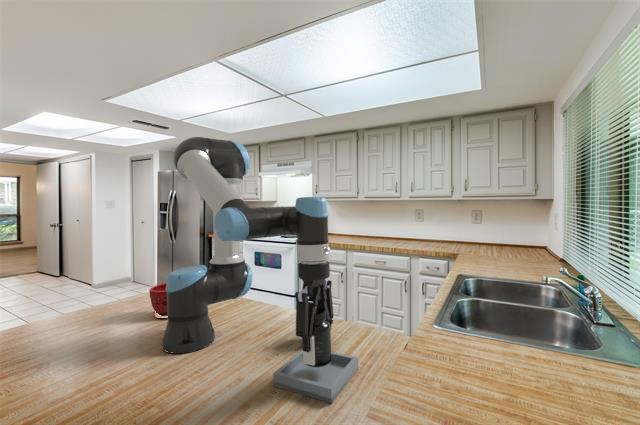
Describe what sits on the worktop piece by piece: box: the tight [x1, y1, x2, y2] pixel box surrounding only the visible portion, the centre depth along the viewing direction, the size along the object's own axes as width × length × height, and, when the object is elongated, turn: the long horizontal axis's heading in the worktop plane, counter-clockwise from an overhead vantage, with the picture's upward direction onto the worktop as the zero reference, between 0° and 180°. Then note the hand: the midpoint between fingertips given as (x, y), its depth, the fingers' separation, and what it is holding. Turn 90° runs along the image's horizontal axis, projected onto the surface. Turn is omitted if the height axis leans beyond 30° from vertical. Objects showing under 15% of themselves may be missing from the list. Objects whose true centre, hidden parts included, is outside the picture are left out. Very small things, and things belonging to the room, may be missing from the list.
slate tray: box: [272, 349, 359, 404], centre depth 74 cm, size 15×15×3 cm
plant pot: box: [149, 282, 168, 316], centre depth 122 cm, size 13×13×12 cm
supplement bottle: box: [306, 308, 333, 367], centre depth 74 cm, size 7×7×12 cm
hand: (317, 356), depth 74 cm, fingers closed on supplement bottle, 7 cm apart
